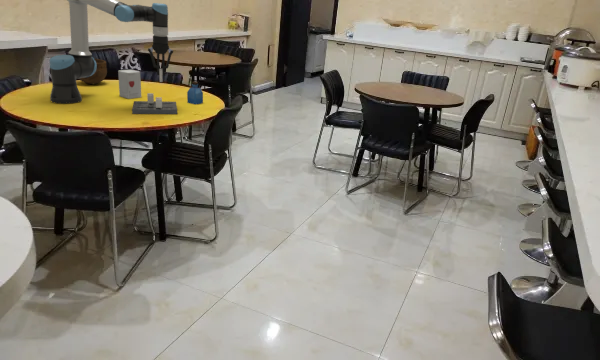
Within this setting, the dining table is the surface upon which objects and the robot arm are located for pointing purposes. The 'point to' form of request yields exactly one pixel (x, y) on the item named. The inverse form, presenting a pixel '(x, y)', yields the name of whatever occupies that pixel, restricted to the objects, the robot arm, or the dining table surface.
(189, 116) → the dining table surface
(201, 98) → the perfume bottle
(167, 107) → the console
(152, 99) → the fader
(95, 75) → the bowl
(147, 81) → the dining table surface
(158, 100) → the fader
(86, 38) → the robot arm
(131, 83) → the supplement box
